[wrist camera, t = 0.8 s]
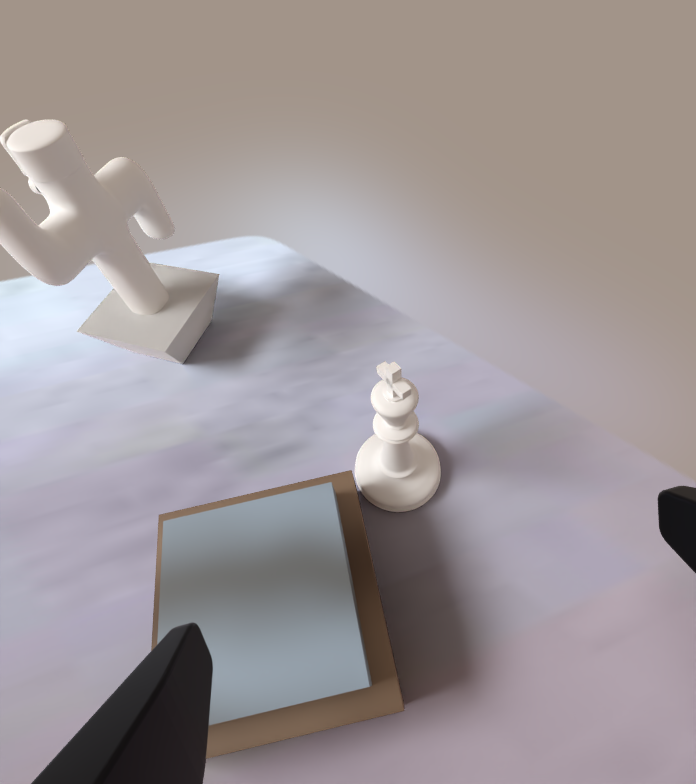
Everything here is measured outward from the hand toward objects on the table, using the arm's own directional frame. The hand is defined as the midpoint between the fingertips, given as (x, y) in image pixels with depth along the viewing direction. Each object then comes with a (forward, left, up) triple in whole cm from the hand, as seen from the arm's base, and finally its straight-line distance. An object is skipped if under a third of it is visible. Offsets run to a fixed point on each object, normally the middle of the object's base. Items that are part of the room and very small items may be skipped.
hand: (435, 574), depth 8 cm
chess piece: (+7, -5, -15) cm, 17 cm away
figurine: (+26, +2, -15) cm, 30 cm away
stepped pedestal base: (+5, +5, -14) cm, 16 cm away
